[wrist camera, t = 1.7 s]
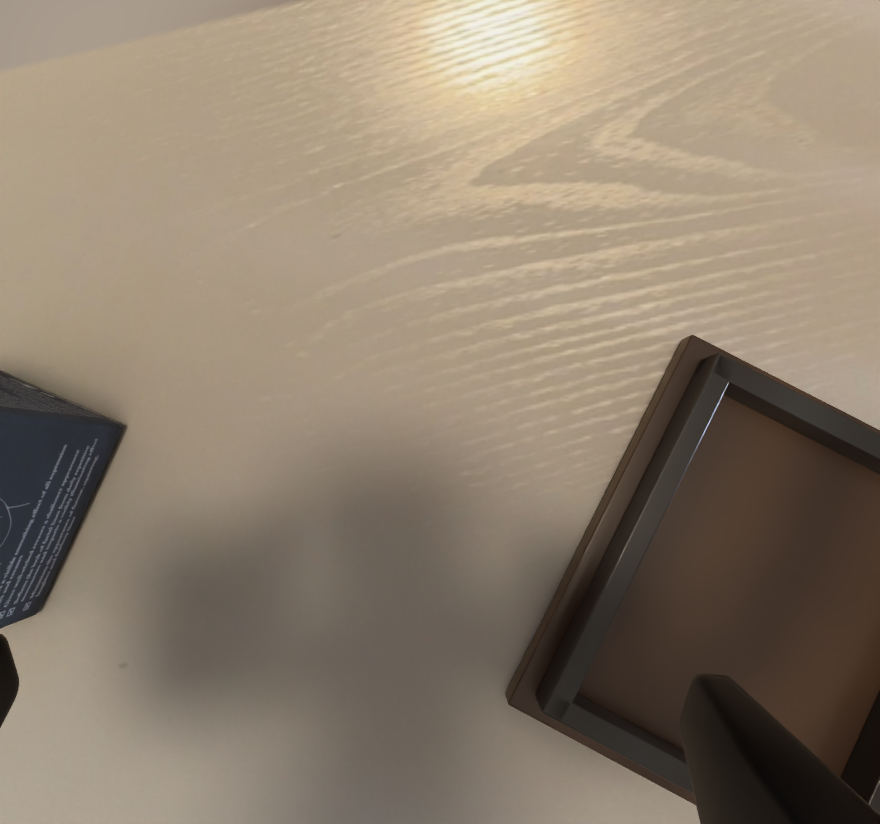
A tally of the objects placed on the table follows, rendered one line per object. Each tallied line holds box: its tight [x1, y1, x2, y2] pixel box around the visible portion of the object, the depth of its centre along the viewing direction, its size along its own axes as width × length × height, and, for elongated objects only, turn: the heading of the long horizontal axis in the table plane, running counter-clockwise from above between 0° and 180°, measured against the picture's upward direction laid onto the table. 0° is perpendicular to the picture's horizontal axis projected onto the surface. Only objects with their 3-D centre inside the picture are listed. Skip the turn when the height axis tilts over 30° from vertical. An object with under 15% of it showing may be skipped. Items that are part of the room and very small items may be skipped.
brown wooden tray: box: [506, 335, 880, 814], centre depth 22 cm, size 13×15×2 cm
